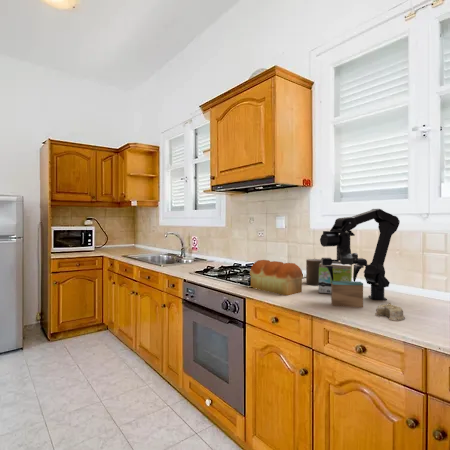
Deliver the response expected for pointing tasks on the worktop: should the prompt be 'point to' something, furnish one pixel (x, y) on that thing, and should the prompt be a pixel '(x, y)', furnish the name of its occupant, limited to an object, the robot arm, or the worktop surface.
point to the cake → (390, 312)
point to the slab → (347, 293)
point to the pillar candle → (312, 271)
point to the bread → (276, 277)
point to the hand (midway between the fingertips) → (343, 281)
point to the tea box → (339, 274)
